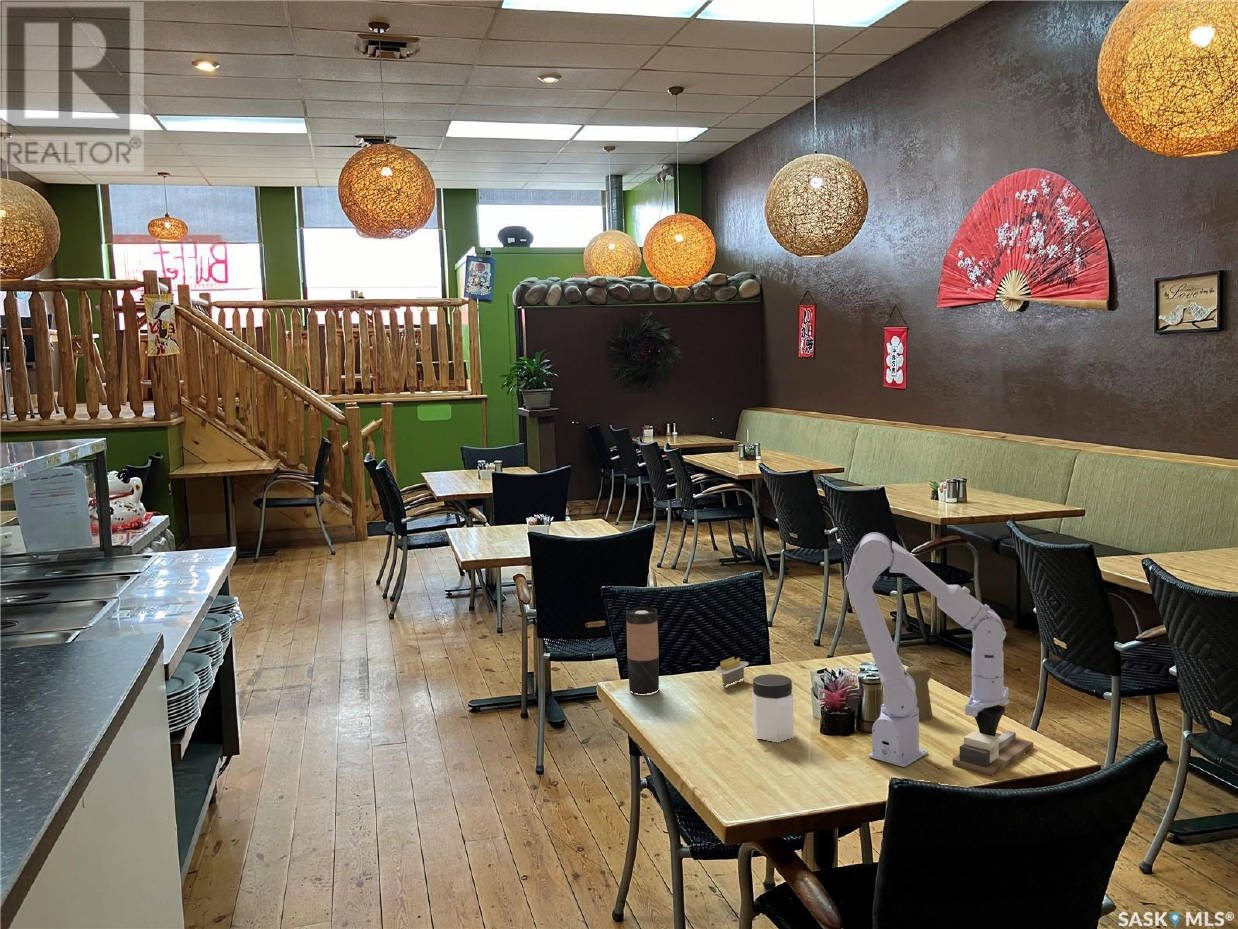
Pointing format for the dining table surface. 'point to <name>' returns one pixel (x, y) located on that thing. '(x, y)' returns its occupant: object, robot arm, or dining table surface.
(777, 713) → the jar
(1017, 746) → the rail board
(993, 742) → the slider
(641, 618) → the travel mug
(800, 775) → the dining table surface
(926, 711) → the cork
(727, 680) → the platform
